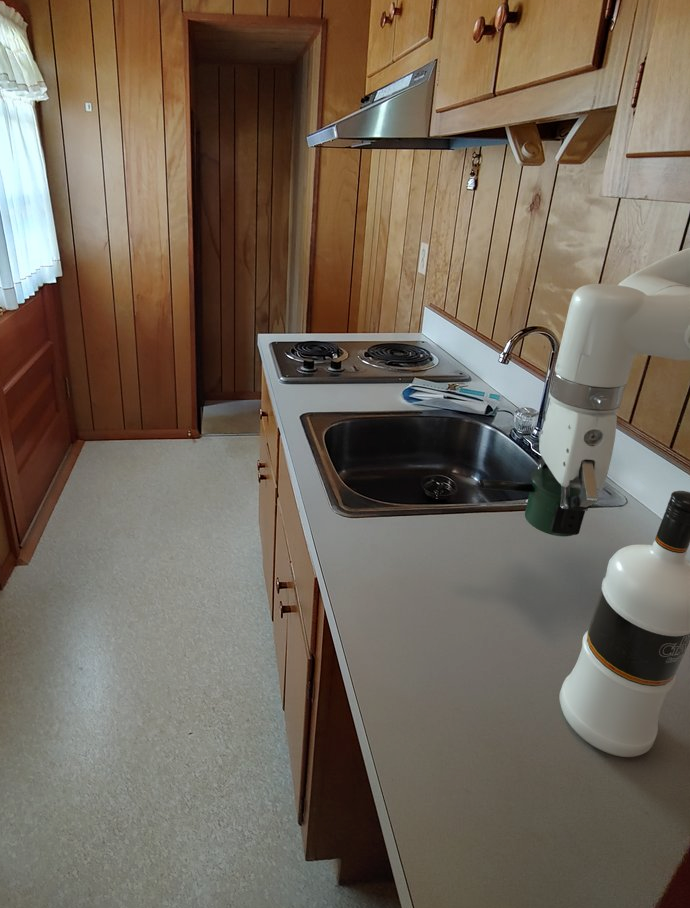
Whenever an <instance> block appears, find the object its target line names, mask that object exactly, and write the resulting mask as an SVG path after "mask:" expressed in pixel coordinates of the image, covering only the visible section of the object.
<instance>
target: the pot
mask: <svg viewBox="0 0 690 908" xmlns="http://www.w3.org/2000/svg"><path fill="white" fill-rule="evenodd" d="M529 481H530V482H521V481H509V480H508V481H507V480H496V479H484V478H482V479H479V480H478V481H477V486H478V487H479V489H483V490H494V491H508V492H520V493H528V497H527V502H526V505H525V506H526V507H525V511H524V518H525V520H526V521H527V523H529V525H530V526H532V527H533V528H535V529H536V530H538V531H540V532H542V533H545V534H548V535H551V536H555V537H571V536H573V535H571V534H560V533H553V532H552V530H551V524H552V520H553V517H554V513H555V509H556V505H557V504H561V484H560V483H559V482H558V481H557V480H556V478H555V477H554V475H553V474H552V472H551V471H550V469H549V468H541V469H538V468H537V469H535V470H534V471H532V472H531V474H530V479H529ZM569 483H579V484H580V479H576V478H574V479H573V480H570V482H569ZM579 494H580V489H573V488H570V494H569V498H571V497H574V496H579Z"/></svg>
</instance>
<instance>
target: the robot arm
mask: <svg viewBox="0 0 690 908" xmlns="http://www.w3.org/2000/svg"><path fill="white" fill-rule="evenodd" d="M559 345H560V346H559V350H558V354H557V359H556V361H555V366H554V372H553V375H552V379H551V384H550V388H549V392H548V398H549V399H550V402H549V405H548V409H547V411H546V414H545V417H544V422H543V425H542V429H541V433H540V438H539V443H538V444H539V445H538V449H539V453H540V458H539V460H538V462H537V469H541V468H549V469H550V471H551V472H552V474H553V475H554V477H555V478H556V480H557V481H558V482H559V483H560V484H561V504H557V505H556V509H555V513H554V517H553V520H552V524H551V530H552V532H553V533H560V534H571V535H572V536H577V535H579V534H580V530H581V527H582V524H583V520H584V517H585V513H586V512H587V511H589V509H590V508H591V507H592V506H593V505H594V504H597V502H598V501H599V494H598V491H601V490H603V489H604V487H605V484H606V481H607V478H608V473H609V471H610V465H611V461H612V455H613V452H614V447H615V441H616V436H617V435H616V434H617V433H616V432H617V424H618V423H617V419H618V415H617V412H619V410H620V408H621V403H622V400H623V397H624V394H625V391H626V386H627V384H628V381H629V377H630V374H631V370H632V367H633V363H634V360H635V357H636V356H637V355H645V356H652V357H656V358H663V359H668V360H676V361H690V247H687V248H685V249H682V250H680V251H679V250H678V251H677V252H674V253H672V254H670V255H667V256H665V257H663V258H661V259H659V260H657V261H655V262H653V263H651V264H649V265H647V266H645V267H643V268H641V269H639V270H637V271H635V272H634V273H632V274H630V275H628V276H627V277H626V278H625V279H623V280H622V281H620V282H619V283H618V284H611V283H589V284H585V285H582V286H580V287H578V288H577V289H576V290H574V292H573V294H572V296H571V299H570V302H569V306H568V311H567V315H566V319H565V324H564V328H563V333H562V337H561V341H560V344H559ZM574 478H576V479H580V484H579V483H569V482H570V480H573V479H574ZM570 488H573V489H580V494H579V496H574V497H571V498H569V494H570Z"/></svg>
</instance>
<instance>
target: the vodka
mask: <svg viewBox="0 0 690 908" xmlns="http://www.w3.org/2000/svg"><path fill="white" fill-rule="evenodd" d="M689 546H690V491H688V490H687V491H686V490H675V491H673V492H671V493H670V498H669V500H668V502H667V506H666V508H665V512H664V513H663V516H662V519H661V522H660V524H659V527H658V530H657V532H656V536H655V538H654V540H653V543H652V544H630V545H626V546H624V547H622V548H620V549H618V550H617V551H616V552H615V553H614V554H613V555H612V556H611V558H610V559H609V561H608V563H607V568H606V572H605V576H604V577H603V579H602V582H601V592H600V595H599V598H598V601H597V603H596V606H595V610H594V612H593V614H592V618H591V621H590V624H589V627H588V630H587V631H585V633H584V634H583V637H582V641H581V643H582V644H581V650H580V653H579V656H578V658H577V661H576V663H575V665H574V667H572V668H573V669H572V670H571V672H570V673H569V675H567V676H566V678H565V679H564V681H563V682H562V685H561V688H560V691H559V696H558V697H559V704H560V708H561V712H562V713H563V716H564V718H565V720H566V721H567V723H568V725H569V726H570V727H571V728H572V730H573V731H574V732H575V733H576V734H578V735H579V737H581V738H582V739H583V740H584V741H585V742H587V743H588V744H590V745H591V746H593V747H594V748H596V749H598V750H600V751H602V752H604V753H606V754H609V755H613V756H616V757H620V758H621V757H622V758H634V757H639V756H642V755H643V754H646V753H647V752H649V751H650V749H652V747H653V745H654V743H655V741H656V738H657V737H658V736H657V735H658V732H659V725H658V722H659V716H660V712H661V710H662V707H663V704H664V701H665V699H666V696H667V695H668V693H669V691H670V690H672V688H673V687H674V685H675V683H676V673H677V671H678V669H679V666H680V664H681V662H682V660H683V657H684V655H685V653H686V650H687V649H688V646H689V644H690V560H689V559H688V558H686V556H687V554H688V550H689Z"/></svg>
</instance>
